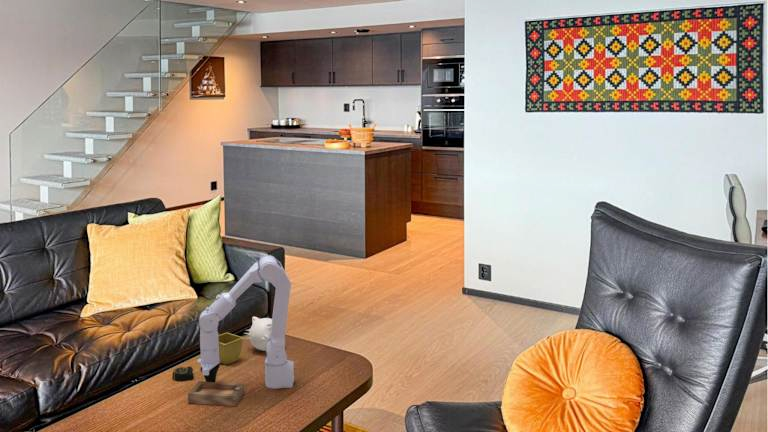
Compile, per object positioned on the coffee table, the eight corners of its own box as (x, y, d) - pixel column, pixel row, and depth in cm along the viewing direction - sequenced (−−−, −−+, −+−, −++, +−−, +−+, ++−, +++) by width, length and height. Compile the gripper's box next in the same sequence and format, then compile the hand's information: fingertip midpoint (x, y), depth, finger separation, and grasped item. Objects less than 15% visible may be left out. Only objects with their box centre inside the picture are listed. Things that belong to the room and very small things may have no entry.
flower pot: (227, 354, 249) (227, 331, 247) (244, 360, 244) (243, 337, 242) (209, 362, 242) (208, 338, 240) (225, 368, 237) (224, 344, 235)
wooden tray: (244, 393, 216) (243, 381, 216) (235, 406, 208) (234, 394, 207) (199, 390, 218) (198, 379, 217) (188, 403, 209) (187, 391, 208)
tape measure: (194, 383, 226) (193, 372, 225) (172, 385, 224) (172, 375, 223) (193, 375, 232) (192, 364, 231) (172, 377, 230) (172, 367, 229)
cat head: (293, 349, 255) (292, 318, 253) (267, 359, 245) (266, 328, 243) (266, 339, 264) (265, 310, 262) (240, 349, 254) (239, 318, 252)
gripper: (201, 338, 223) (203, 377, 225) (191, 356, 208) (193, 397, 211) (223, 338, 223) (224, 377, 226) (214, 356, 209) (216, 397, 211)
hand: (211, 386), depth 218 cm, fingers closed
